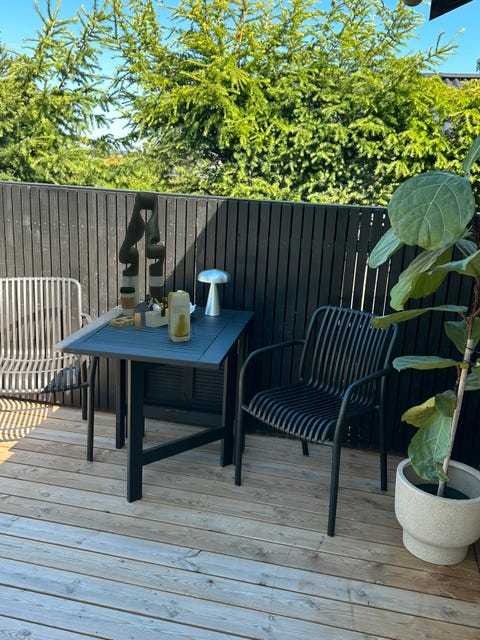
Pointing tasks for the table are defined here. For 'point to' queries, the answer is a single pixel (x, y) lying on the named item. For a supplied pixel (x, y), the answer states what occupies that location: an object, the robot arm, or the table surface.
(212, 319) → the table surface
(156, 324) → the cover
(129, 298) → the coffee cup
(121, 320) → the socket board
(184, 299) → the juice carton
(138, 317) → the terracotta peg
